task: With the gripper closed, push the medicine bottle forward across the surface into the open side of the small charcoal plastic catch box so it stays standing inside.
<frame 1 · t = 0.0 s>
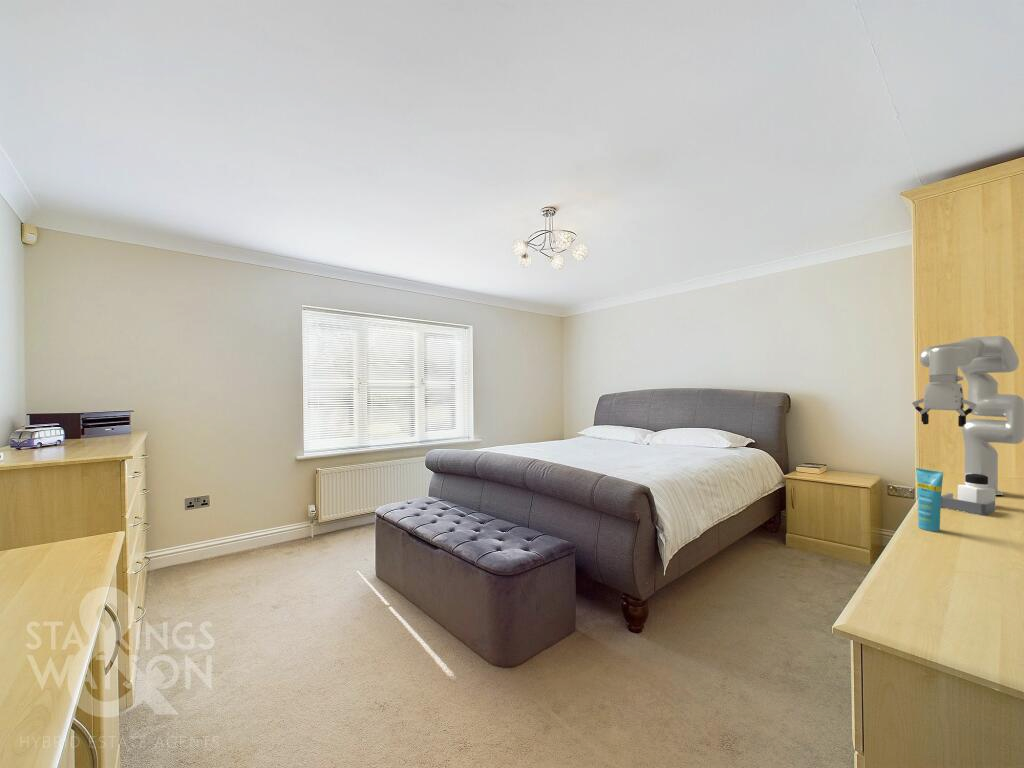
hand: (943, 425, 159), 31 cm above the dresser top, tool pointing down, fingers open, 9 cm apart
catch box: (966, 509, 157), on the dresser top
tube: (928, 529, 136), on the dresser top
medicine bottle: (976, 505, 163), on the dresser top
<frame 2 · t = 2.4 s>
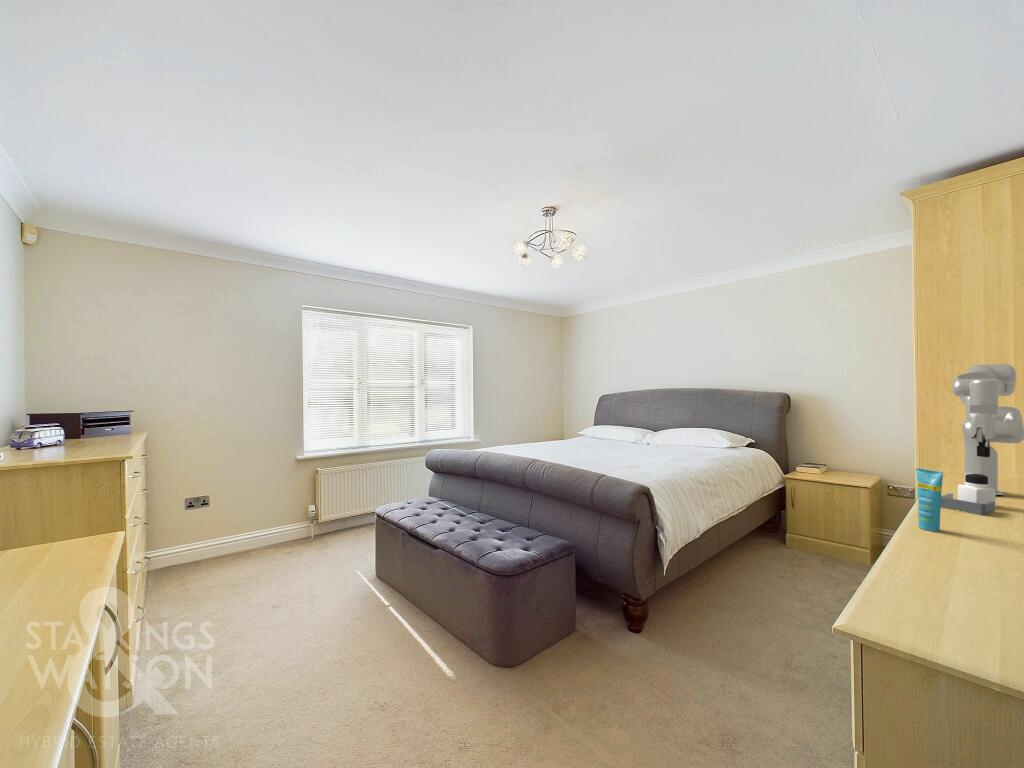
hand: (983, 456, 167), 18 cm above the dresser top, tool pointing down, fingers closed
nothing on the dresser top moved.
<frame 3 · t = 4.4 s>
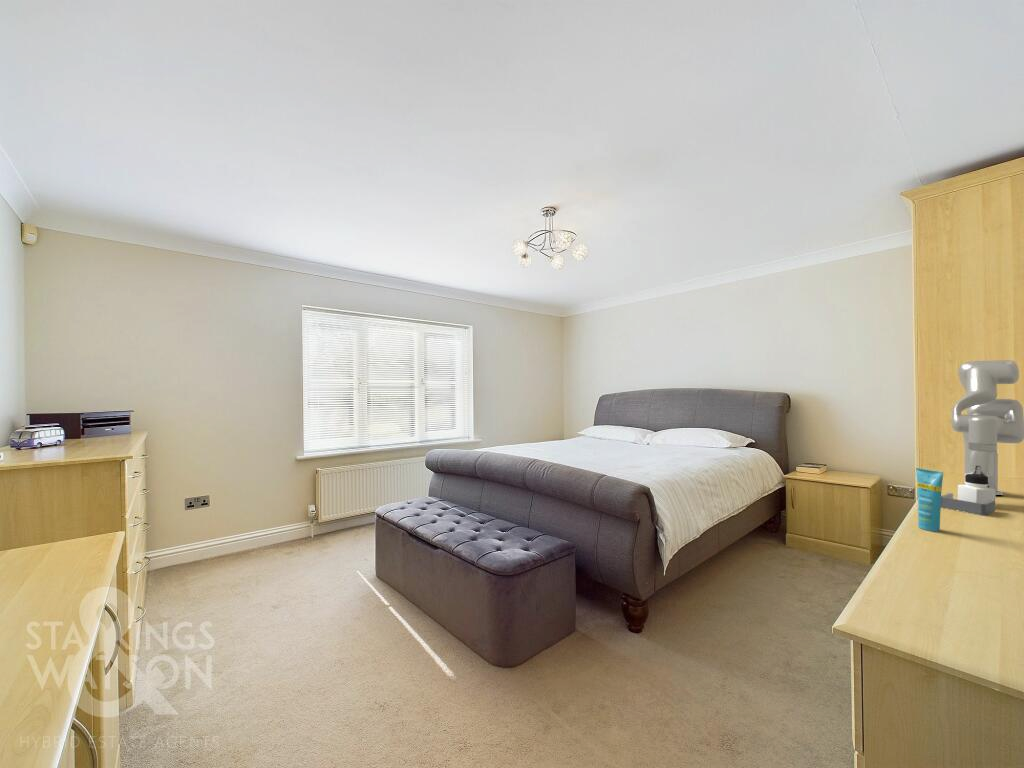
hand: (982, 494, 166), 3 cm above the dresser top, tool pointing down, fingers closed
medicine bottle: (976, 505, 163), on the dresser top, touching gripper
everything else where it was.
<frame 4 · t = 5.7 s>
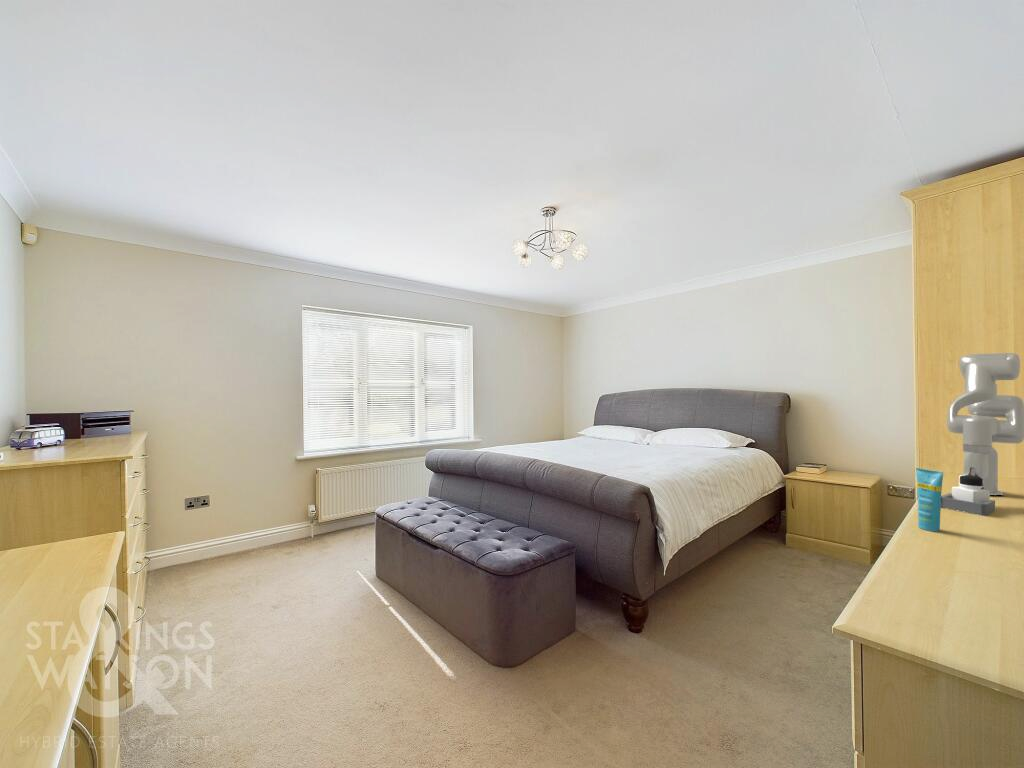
hand: (976, 496, 163), 3 cm above the dresser top, tool pointing down, fingers closed
medicine bottle: (970, 507, 160), on the dresser top, touching gripper
everything else where it was.
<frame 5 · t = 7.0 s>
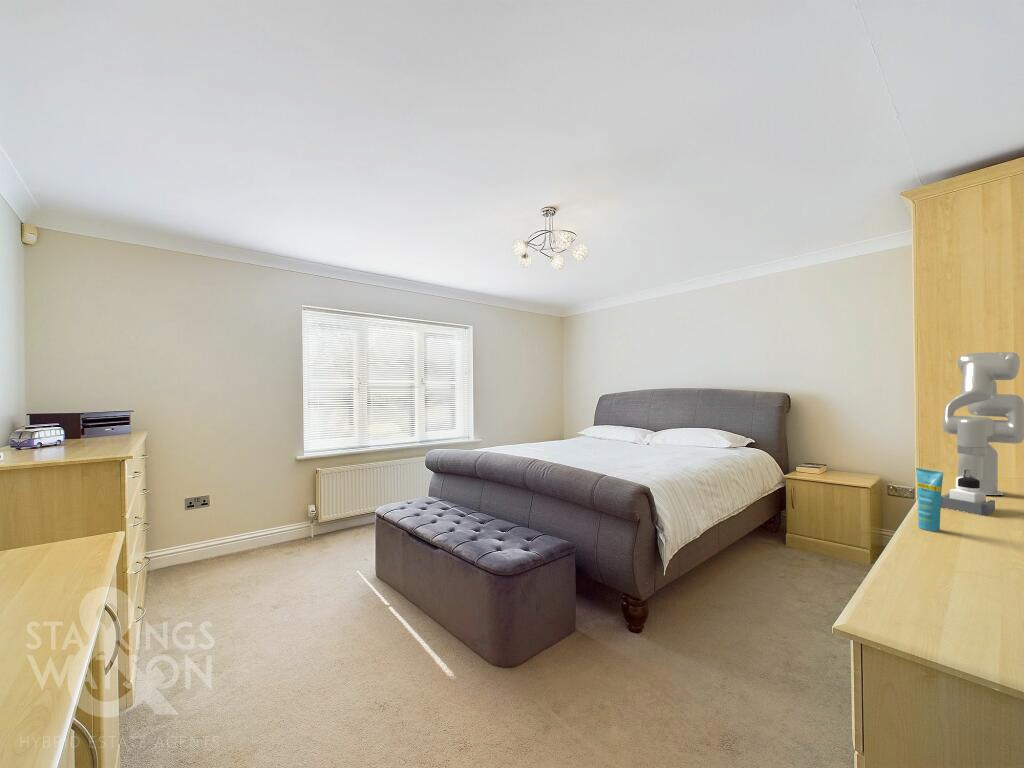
hand: (971, 499, 160), 3 cm above the dresser top, tool pointing down, fingers closed
medicine bottle: (967, 510, 157), on the dresser top, touching catch box, gripper
everything else where it was.
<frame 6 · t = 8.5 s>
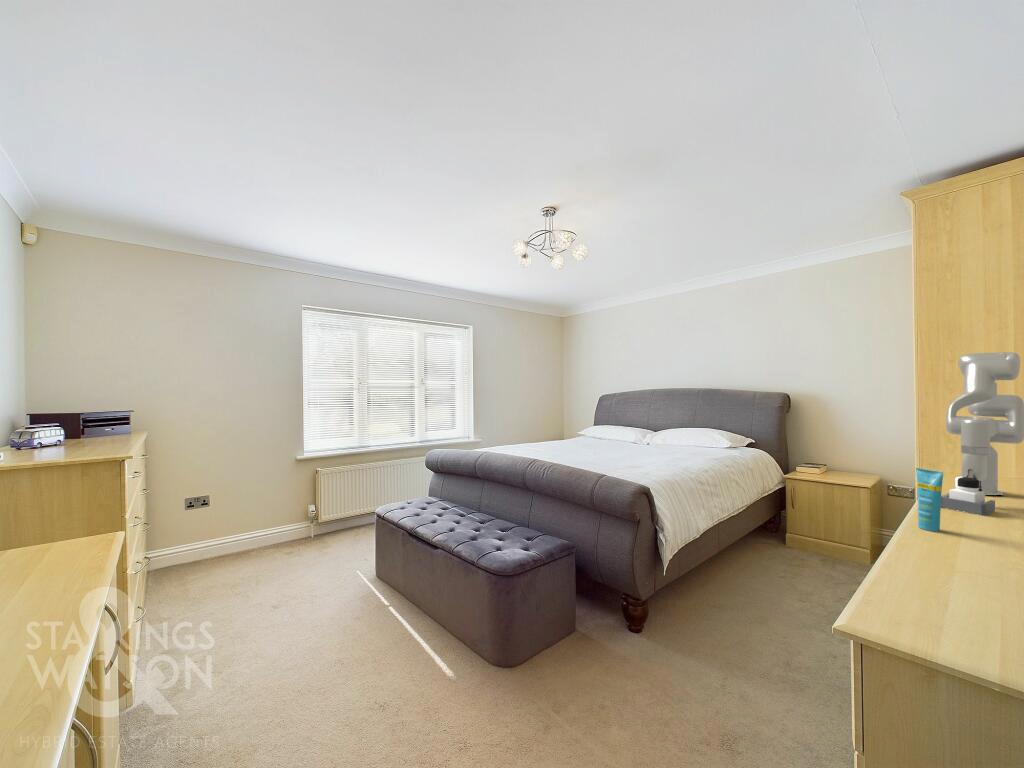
hand: (975, 498, 162), 3 cm above the dresser top, tool pointing down, fingers closed
medicine bottle: (966, 510, 157), on the dresser top
everything else where it was.
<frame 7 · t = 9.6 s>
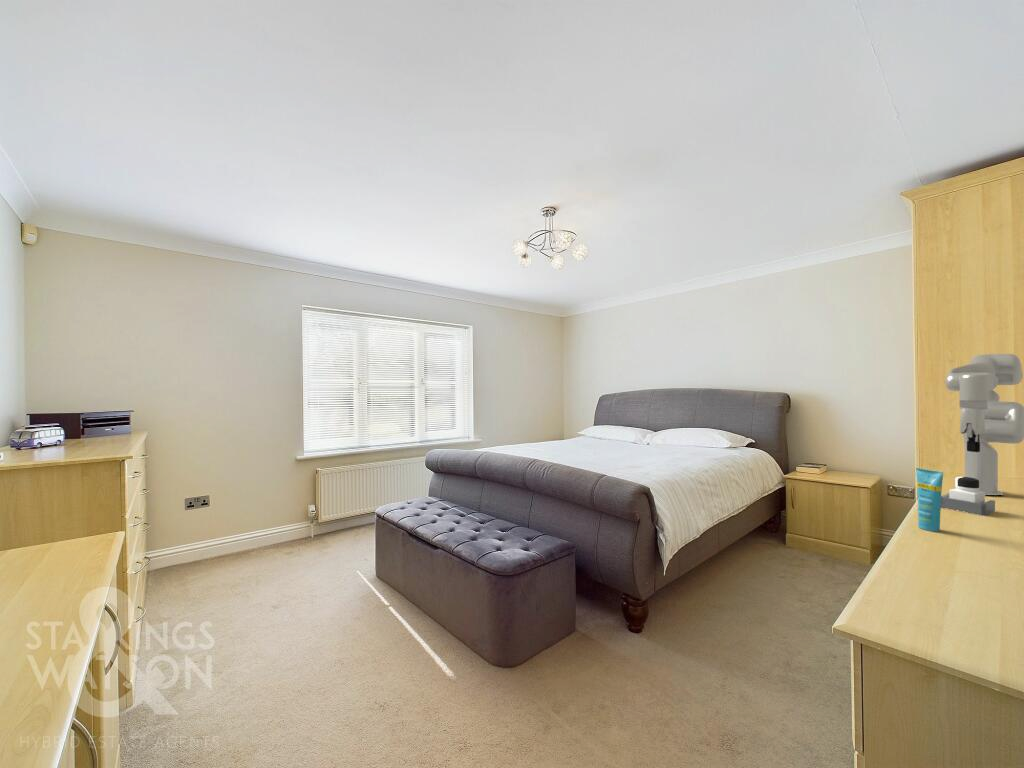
hand: (973, 451, 166), 20 cm above the dresser top, tool pointing down, fingers closed
nothing on the dresser top moved.
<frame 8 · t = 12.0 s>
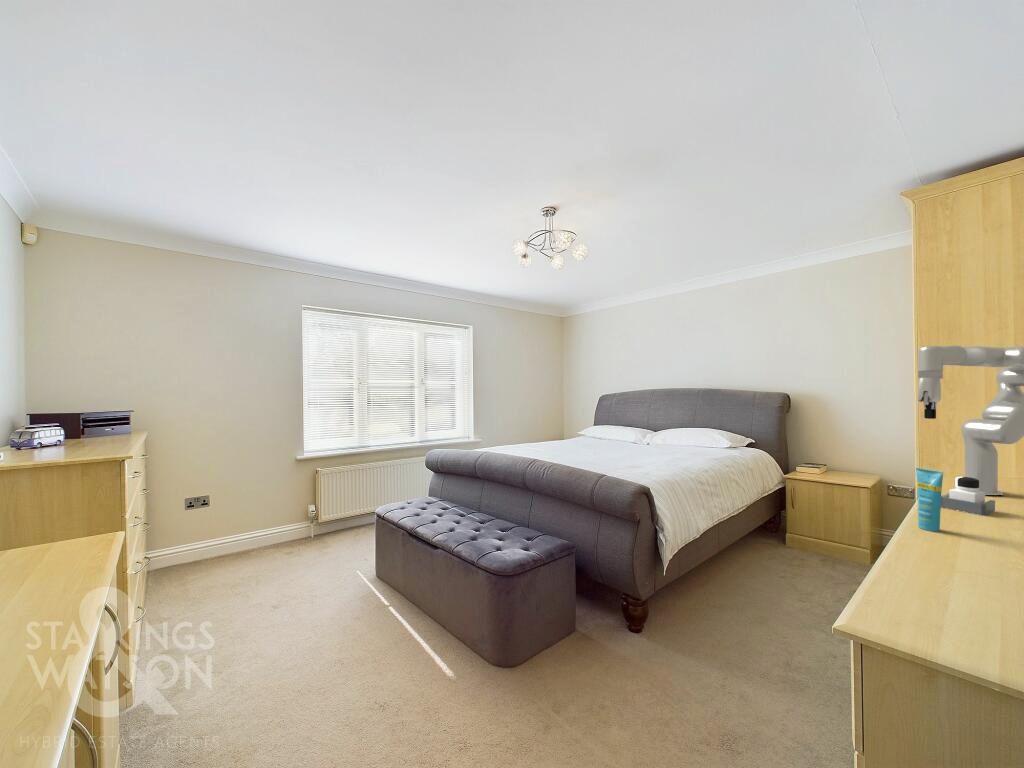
hand: (930, 418, 179), 32 cm above the dresser top, tool pointing down, fingers closed
nothing on the dresser top moved.
at the end: medicine bottle inside the target area on the catch box (0.4 cm from its centre), point 0.0 cm above the catch box's base; medicine bottle tilted 0° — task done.
